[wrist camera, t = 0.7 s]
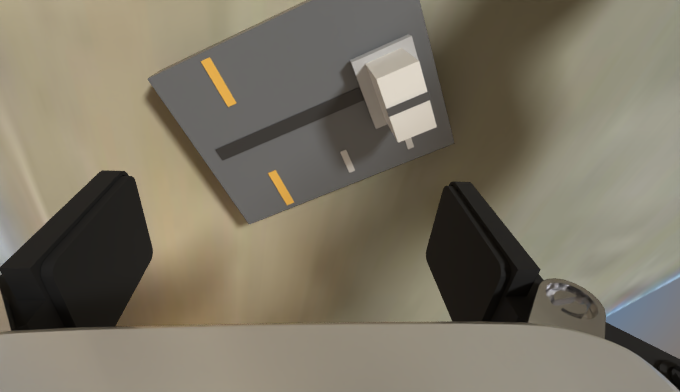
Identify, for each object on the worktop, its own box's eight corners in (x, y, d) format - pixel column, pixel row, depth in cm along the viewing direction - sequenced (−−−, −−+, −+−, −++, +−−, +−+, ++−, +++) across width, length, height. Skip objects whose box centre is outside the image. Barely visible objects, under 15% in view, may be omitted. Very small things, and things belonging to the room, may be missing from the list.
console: (398, -44, 28) (408, -46, 25) (443, 131, 36) (454, 143, 33) (160, 70, 31) (146, 79, 28) (252, 208, 39) (248, 224, 36)
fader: (408, 34, 28) (432, 46, 23) (427, 102, 31) (452, 128, 26) (349, 60, 28) (359, 78, 23) (374, 125, 32) (387, 153, 26)
